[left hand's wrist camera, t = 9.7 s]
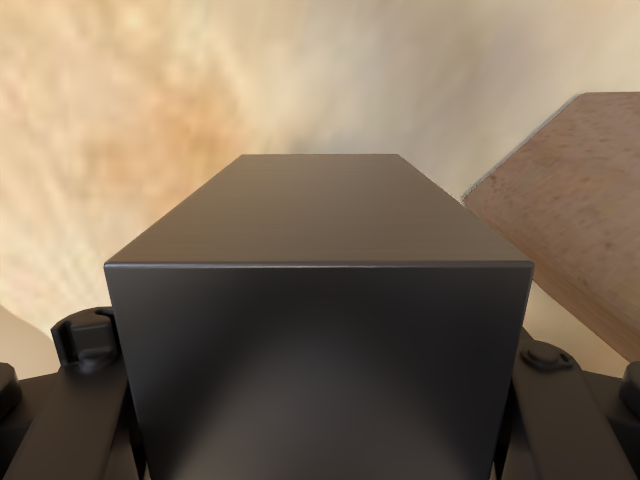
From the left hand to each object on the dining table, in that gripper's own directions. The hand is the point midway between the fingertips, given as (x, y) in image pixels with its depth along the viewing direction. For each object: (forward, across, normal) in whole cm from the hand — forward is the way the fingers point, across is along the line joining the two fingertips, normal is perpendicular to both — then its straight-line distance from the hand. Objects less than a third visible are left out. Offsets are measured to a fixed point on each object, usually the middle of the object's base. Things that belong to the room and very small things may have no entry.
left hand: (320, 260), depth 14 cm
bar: (+1, 0, -9) cm, 9 cm away
